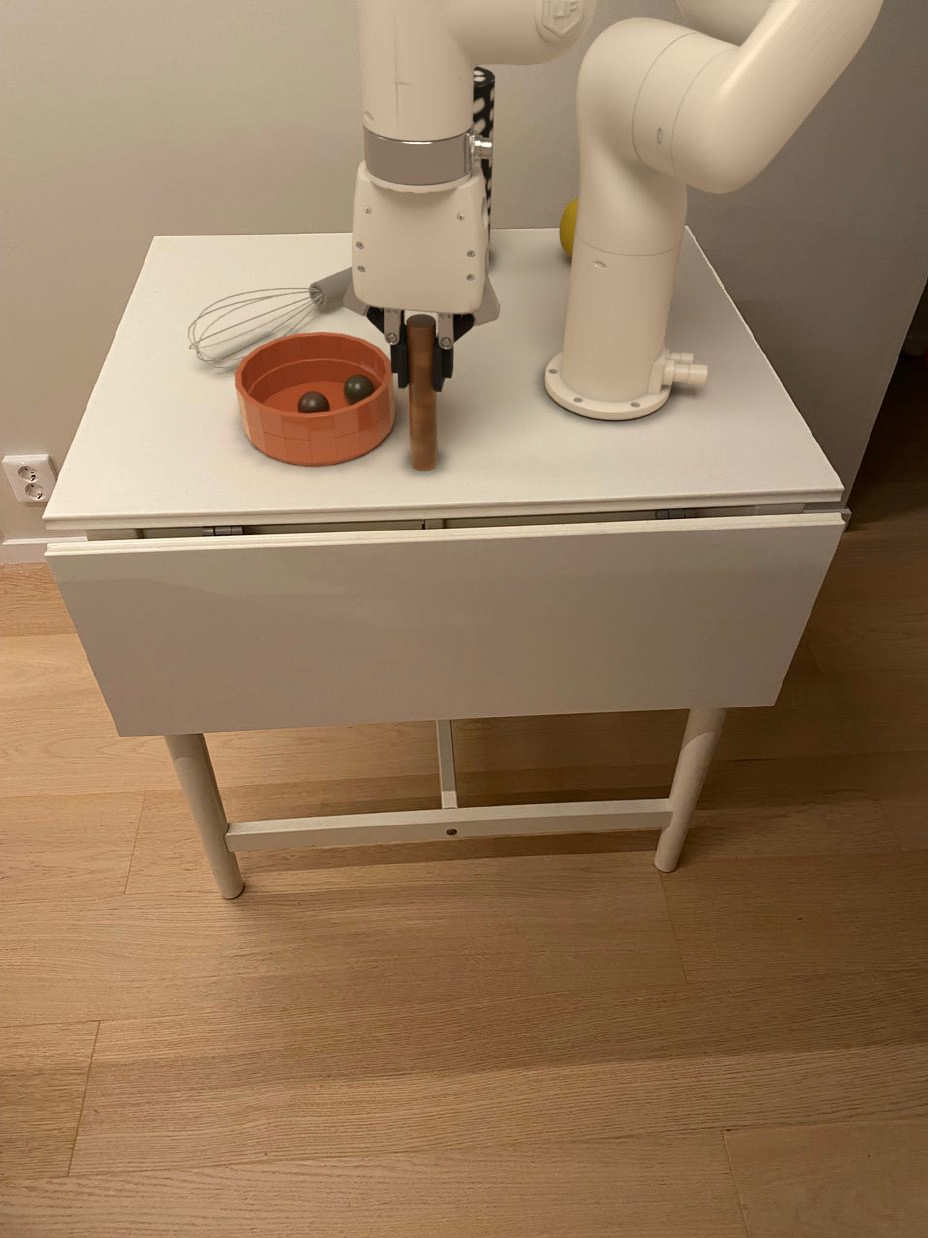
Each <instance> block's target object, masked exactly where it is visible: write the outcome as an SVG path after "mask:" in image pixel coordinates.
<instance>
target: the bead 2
mask: <svg viewBox="0 0 928 1238" xmlns="http://www.w3.org/2000/svg"><path fill="white" fill-rule="evenodd" d="M374 392H375V388H374V385H373V383H372V381H371V380H370V379H369V378H368V377H366V376H364V375H353V376H351V377H350V378H348V379H347V381H346V382H345V384H344V388H343V393H344V397H345V399H346V400H347V401H348V402H349V403H350V404H351V405H354V404H356V403H358V402H360V401H362V400H364V399H365V398H367V397H369V396H371V395H372V394H373V393H374Z"/></svg>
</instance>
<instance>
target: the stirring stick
mask: <svg viewBox="0 0 928 1238" xmlns="http://www.w3.org/2000/svg"><path fill="white" fill-rule="evenodd" d="M405 324H406V327H407V346H408V379H409V383H408V386H407V388H408V414H409V415H408V417H409V445H410V465H411V466H412V468H413V469H414V470H417V471H422V472H426V471H428V472H429V471H431V470H434V469H435V468H436V467H437V465H438V392H435V390H433V357H432V353H433V347H434V344H435V343H436V337H437V319H436V318H435V317H434V316H432V315H430V314H427V313H426V314H425V313H416V314H413V315H410V316H409V317H407V319H406V320H405Z"/></svg>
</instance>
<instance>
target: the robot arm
mask: <svg viewBox="0 0 928 1238" xmlns="http://www.w3.org/2000/svg"><path fill="white" fill-rule="evenodd" d="M884 1H885V0H675V3H676V5H677V8H678V10H679V12H680V14H681V16H682V18H683V19H684V20H685V21H686V23H688V24H689V25H690V26H691V27H693V29H692V28H689V27H687V26H683V25H680V24H676V23H673V22H670V21H667V20H663V19H658V18H655V17H643V16H641V17H640V16H638V17H630V18H626V19H625V18H624V19H623V20H620V21H617V22H615V23H613V24H612V25H609V26H608V27H607V28H605V29H604V30H603V31H601V32H600V34H599V35H598V36H597V37H596V38H595V39H594V41H592V43H591V45H590V46H589V48H588V49H587V50H586V53H585V55H584V57H583V60H582V62H581V65H580V68H579V71H578V75H577V81H576V88H575V120H576V121H575V123H576V133H577V144H578V145H577V146H578V159H579V160H578V163H579V164H578V168H579V170H578V171H579V172H578V175H579V176H578V194H577V198H578V205H577V216H576V226H575V233H574V243H573V253H572V257H571V264H570V273H569V274H570V275H569V285H568V293H567V294H568V295H567V303H566V314H565V323H564V324H565V325H564V332H563V334H564V335H563V343H562V344H563V346H562V351H561V352H559V353H558V354H555V356H554V357H552V358H551V359H550V360H549V362H548V363H547V365H546V368H545V371H544V380H543V381H544V387H545V389H546V391H547V394H548V395H549V396H550V397H551V398H552V399H553V400H554V401H555V402H556V403H557V404H559V406H561V407H563V408H565V409H566V410H569V411H570V412H572V413H576V414H577V415H580V416H583V417H588V418H591V419H597V420H605V421H606V420H607V421H623V420H632V419H636V418H642V417H644V416H646V415H649V414H651V413H654V412H655V411H657V410H659V409H661V407H662V406H664V404H665V403H666V402H667V400H668V399H669V397H670V393H671V389H672V384H673V383H682V384H683V383H684V384H688V385H700V386H705V385H706V383H707V380H708V379H707V378H708V369H709V366H708V364H702V363H701V364H700V363H694V356H695V355H694V353H693V352H673V351H671V350H670V348H666V336H665V333H666V328H667V322H668V317H669V313H670V312H669V311H670V306H671V302H672V296H673V291H674V286H675V281H676V274H677V270H678V264H679V258H680V254H681V253H680V252H681V247H682V242H683V239H684V235H685V229H686V224H687V215H688V192H687V185H688V186H689V187H691V188H695V189H697V190H700V191H702V192H705V193H709V194H714V195H722V194H724V195H725V194H729V193H732V192H735V191H737V190H739V189H742V188H743V187H745V186H746V185H748V184H749V183H751V182H752V181H753V180H754V179H756V178H757V177H758V176H759V175H760V173H762V171H764V170H765V168H767V166H768V165H769V164H770V163H771V162H772V161H773V160H774V159H775V157H776V156H777V155H778V154H779V153H780V151H781V150H782V149H783V148H784V146H785V145H786V144H787V142H788V141H790V139H791V137H793V135H794V133H796V131H797V130H798V129H799V127H800V126H801V125H802V124H803V122H804V121H805V120H806V119H807V118H808V116H809V114H811V112H812V111H813V110H814V109H815V107H816V106H817V105H818V104H819V102H820V101H821V100H822V99H823V97H824V96H825V95H826V93H828V91H829V90H830V89H831V87H832V86H833V85H834V84H835V82H836V81H837V79H838V78H839V77H840V76H841V75H842V73H844V71H845V69H846V68H847V67H848V66H849V64H850V63H851V62H852V60H853V59H854V57H855V56H856V55H857V54H858V52H859V51H860V49H861V48H862V47H863V45H864V43H865V42H866V40H867V38H868V37H869V35H870V33H871V31H872V29H873V27H874V25H875V23H876V21H877V19H878V16H879V14H880V12H881V8H882V6H883V4H884ZM355 3H356V5H355V6H356V7H355V8H356V23H357V38H358V39H357V40H358V57H359V73H360V75H359V76H360V93H361V109H362V111H361V112H362V124H363V125H362V127H363V128H362V129H363V143H364V144H363V145H364V160H362V161H361V162H360V163H359V165H358V169H357V173H356V178H355V179H356V180H355V187H354V198H353V208H352V209H353V211H352V235H351V237H352V238H351V239H352V240H351V241H352V245H351V251H352V252H351V255H352V256H351V261H352V262H351V267H352V272H353V276H352V278H351V280H350V283H349V285H348V288H347V290H346V293H345V295H344V298H342V299H341V300H342V306H343V307H344V308H345V309H348V310H349V311H352V312H353V313H356V314H358V315H359V316H361V317H366V319H367V321H369V322H370V323H371V324H372V325H373V327H375V328H376V329H377V330H378V331H379V332H380V333H381V334H382V335H383V336H384V340H385V343H387V344H388V345H389V352H390V353H389V354H390V355H389V356H390V357H389V358H390V362H391V373H393V374H396V375H397V388H398V389H399V390H400V389H402V390H405V389H406V388H408V383H409V379H408V346H407V327H406V311H410V312H422V313H434V314H437V333H436V343H435V344H434V347H433V353H432V357H433V390H435V392H437V393H442V391H443V388H444V385H445V381H446V379H452V378H453V374H454V353H455V352H454V350H455V349H454V346H455V345H454V344H455V343H456V342H458V341H459V340H460V339H462V337H463V336H464V335H466V334H467V333H469V332H470V331H471V330H472V329H473V328H474V327H479V326H482V325H485V324H488V323H491V322H494V321H496V320H498V319H499V317H500V312H501V304H500V302H499V299H498V297H497V294H496V292H495V290H494V287H493V285H492V283H491V280H490V278H489V264H490V246H489V240H488V212H487V199H486V190H485V183H484V177H483V171H482V169H481V167H479V166H478V165H476V164H475V162H476V160H477V161H481V159H492V160H493V155H492V153H493V154H494V137H493V138H483V136H482V135H477V130H474V121H473V89H474V68H475V67H477V66H478V67H479V66H481V65H513V66H531V65H533V66H534V65H540V64H545V63H549V62H551V61H554V60H556V59H558V58H560V57H562V56H564V55H566V54H567V53H569V52H570V51H571V50H572V49H573V48H574V47H576V46H577V45H578V43H579V42H580V41H581V40H582V39H583V37H584V36H585V34H586V33H587V31H588V30H589V28H590V26H591V24H592V22H593V20H594V18H595V14H596V10H597V7H598V6H597V5H598V0H355Z"/></svg>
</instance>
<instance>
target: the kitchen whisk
mask: <svg viewBox="0 0 928 1238" xmlns="http://www.w3.org/2000/svg"><path fill="white" fill-rule="evenodd" d="M352 276H353V272H352V266H351V267H348V268H345V269H343V270H341V271H338V272H336V273H334V274H333V273H332V274H331V275H329V276H327V277H324V278H321V279H319V280H317V281H315V282H312V283H310V285H309V287H275V288H266V289H265V288H264V289H257V290H251V291H250V290H249V291H244V292H241V293H236V294H233V295H228V296H226V297H224V298H221V299H219V300H216V301H215V302H213V303H211V304H210V305H208V306H207V307H205V308H204V309H202V310H201V312H200V313H199V314H198V316H197V317H196V318H195V319H194V320H193V322H191V324H190V325H189V326H188V327H187V339H188V341H189V342H190V345H189V347H188V349H189V350H196V358H197V359H199V360H200V361H201V362H203V363H206V364H207V365H209V366H210V367H212V368H213V369H223V370H228V369H233V368H236V367H237V368H238V366H239V364H236V365H231V366H227V367H224V366H214V365H213V364H211V363H210V362H215V361H220V362H225V361H226V362H227V361H237V360H242V359H243V358H245V357H246V356H247V355H244V356H240V357H236V358H226V357H228V356H231V355H233V354H235V353H237V352H240V351H241V350H243V349H245V348H246V347H248V346H249V347H250V346H251V345H252V344H254V343H255V342H257V341H259V340H261V339H262V338H264V337H266V336H267V335H269V334H270V333H273V332H274V331H275V330H277V329H278V328H280V327H281V326H283V325H285V324H286V323H287V322H289V321H290V320H292V319H293V318H294V317H296V316H297V315H299V314H301V313H302V312H303V311H305V310H306V309H307V308H309V307H310V306H312V305H313V304H314V306H313V307H312V308H311V309H310V310H309V312H308V313H307V314H306V315H305V316H303V317H302V319H300V320H299V321H298V322H297V323H296V324H295V325H294V326H293V327H291V328H290V329H289V330H288V331H286V332H285V333H284V334H282V335H281V336H279V338H282V337H286V336H288V335H289V334H290V333H291V332H292V331H293V330H294V329H296V327H298V326H299V325H300V324H301V323H302V322H303V321H304V320H305V319H306V318H307V317H308V316H309V315H310V314H311V313H313V311H315V309H316V308H321V309H322V308H324V307H327V306H329V305H331V304H333V303H336V302H338V301H341V300H343V298H344V295H345V293H346V290H347V288H348V285H349V283H350V280H351V278H352ZM277 290H280V291H281V290H299V291H294V292H287V293H279V294H272V295H266V296H261V297H256V298H250V299H245V300H241V301H236V302H233V303H230V304H227V305H222V306H219V307H217V308H215V309H212V310H209V311H207V310H208V309H210V308H211V307H213V306H214V305H215V304H217V303H220V302H222V301H225V300H227V299H230V298H234V297H237V296H241V295H245V294H252V293H258V292H259V293H260V292H267V291H277ZM305 293H306V294H307V293H309V294H308V295H309V296H307V297H304V298H302V299H299V300H297V301H294V302H291V303H289V304H288V303H287V304H286V305H283V306H280V307H277V308H274V309H273V310H270V311H267V312H264V313H262V314H259V315H257V316H254V317H252V318H249V319H246V320H244V321H242V322H238V323H236V324H233V325H231V326H229V327H226V328H224V329H222V330H219V331H217V332H215V333H212V334H210V335H208V336H206V337H203V336H204V334H205V333H206V332H207V331H208V329H209V328H210V327H211V326H213V324H215V323H216V322H217V321H219V320H220V319H221V318H223V317H225V316H226V315H228V314H230V313H232V312H234V311H236V310H239V309H241V308H244V307H246V306H249V305H252V304H255V303H258V302H261V301H265V300H269V299H273V298H278V297H284V296H287V295H294V294H295V295H296V294H305ZM309 299H310V300H309ZM305 300H309V301H307V302H305V303H303V304H301V305H299V306H297V307H295V308H293V309H291V310H290V311H288V312H286V313H283V314H281V315H280V316H277V317H275V318H273V319H271V320H269V321H267V322H265V323H263V324H261V325H259V326H256V327H254V328H251V329H250V330H247V331H245V332H243V333H240V334H237V335H234V336H232V337H229V338H227V339H224V340H221V341H218V342H215V343H212V344H208V345H205V346H204V345H203V346H200V342H202V341H204V340H206V339H209V338H211V337H213V336H215V335H217V334H220V333H223V332H225V331H228V330H230V329H232V328H235V327H237V326H239V325H243V324H244V323H247V322H250V321H251V320H255V319H259V318H260V317H263V316H265V315H269V314H270V313H273V312H276V311H278V310H282V309H284V308H286V307H289V306H292V305H295V304H297V303H301V302H302V301H305ZM242 303H245V304H243V305H240V306H237V307H235V308H233V309H230V310H229V311H227V312H225V313H224V314H222V315H219V317H217V318H216V319H215V320H213V321H212V322H211V323H210V324H208V326H207V327H206V328H205V329H204V331H203V332H202V333H201V335H199V339H198V340H197V341H196V337H195V331H196V330H195V329H196V326H197V321H198V320H200V319H201V318H203V317H204V316H206V315H208V314H211V313H212V312H215V311H218V310H221V309H223V308H228V307H231V306H235V305H237V304H242ZM307 304H308V305H307ZM305 305H306V306H305ZM303 306H305V307H304V308H302V307H303ZM300 308H302V309H301V310H299V311H298V312H297V313H295V314H293V315H292V316H290V317H289V318H288V319H286V320H285V321H283V322H282V323H280V324H279V325H277V326H275V327H274V328H272V329H271V330H269V331H268V332H266V333H265V334H263V335H262V336H260V337H258V338H256V339H255V340H253V341H251V342H249V343H248V344H246V345H244V346H242V347H240V348H238V349H236V350H235V351H231V352H230V353H227V354H225V355H223V356H220V357H213V356H209V355H207V354H206V353H204V352H202V351H201V350H200V349H205V348H209V347H212V346H217V345H220V344H222V343H225V342H228V341H231V340H234V339H236V338H238V337H241V336H243V335H245V334H248V333H250V332H253V331H255V330H257V329H259V328H261V327H264V326H266V325H268V324H270V323H272V322H274V321H276V320H279V319H280V318H283V317H284V316H287V315H289V314H290V313H292V312H294V311H296V310H298V309H300ZM205 311H207V312H205ZM191 328H193V329H192V338H193V341H192V340H191V338H190V329H191ZM202 337H203V338H202ZM203 356H205V357H206V358H208V359H204V357H203ZM225 358H226V359H225Z"/></svg>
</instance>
